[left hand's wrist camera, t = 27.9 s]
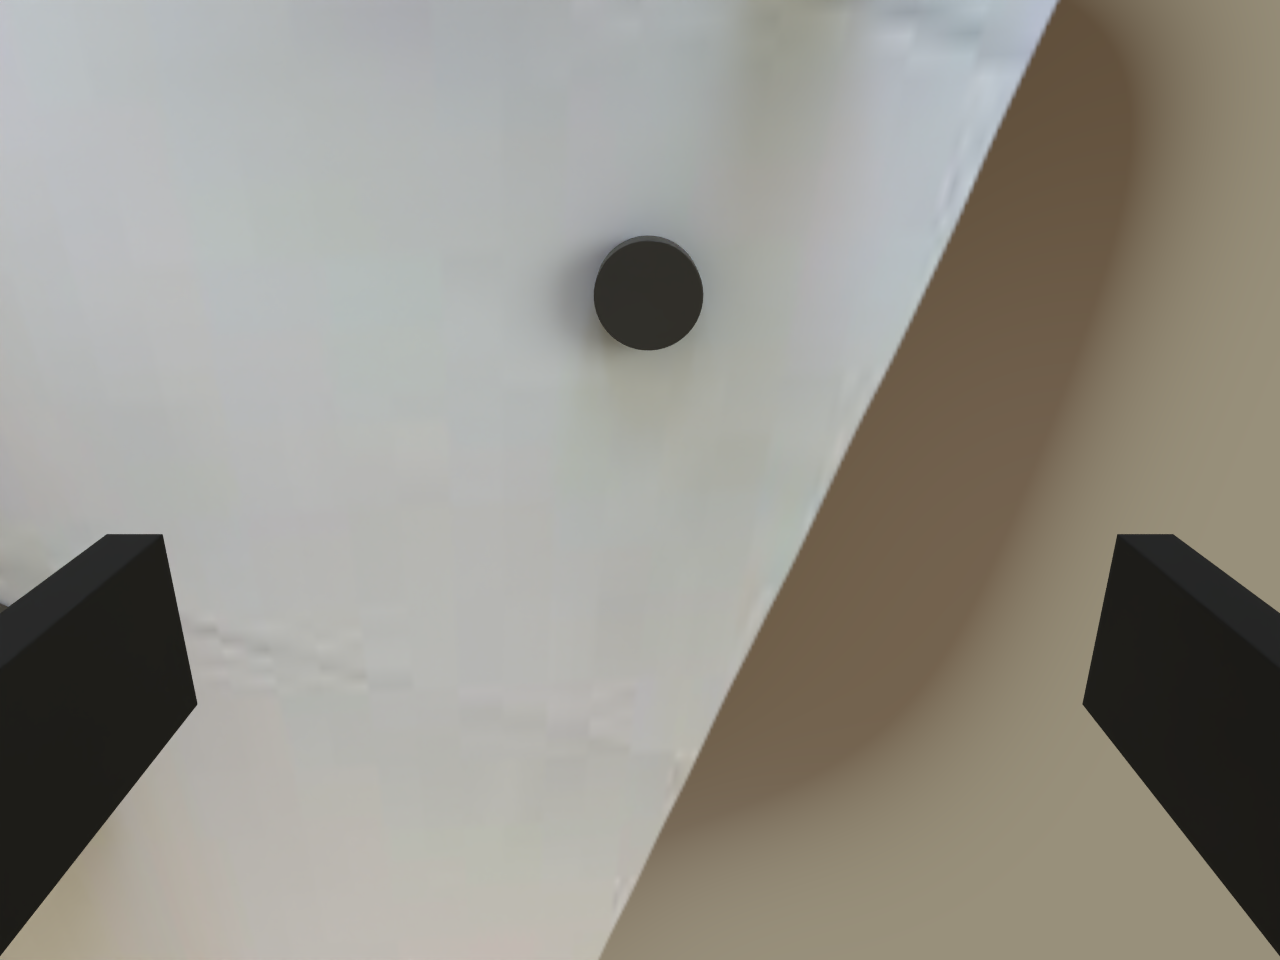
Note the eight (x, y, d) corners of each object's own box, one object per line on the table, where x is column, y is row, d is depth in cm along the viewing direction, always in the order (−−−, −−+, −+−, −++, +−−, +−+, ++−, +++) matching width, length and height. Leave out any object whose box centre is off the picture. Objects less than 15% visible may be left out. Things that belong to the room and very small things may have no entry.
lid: (575, 273, 40) (572, 279, 38) (664, 214, 39) (666, 218, 37) (632, 360, 41) (631, 370, 39) (719, 305, 40) (723, 313, 39)
